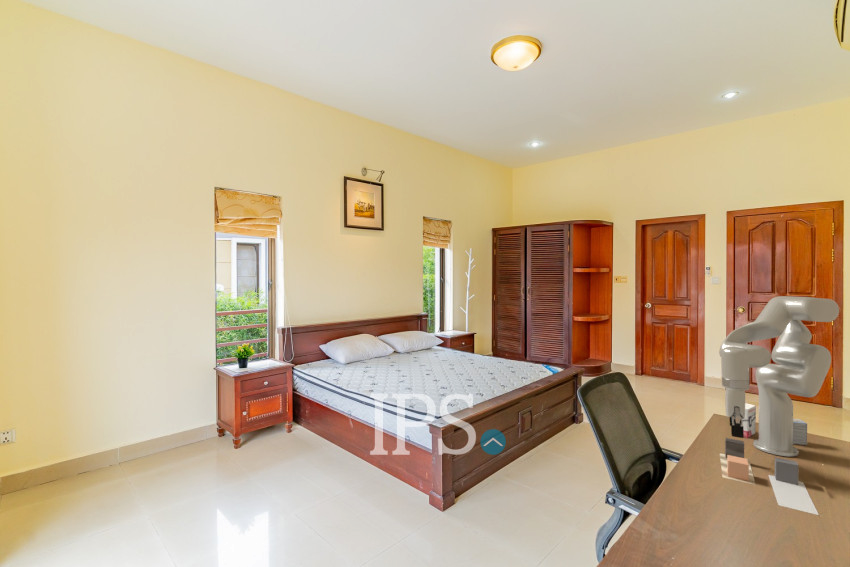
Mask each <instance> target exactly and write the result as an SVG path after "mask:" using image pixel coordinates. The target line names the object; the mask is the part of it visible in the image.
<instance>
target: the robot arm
mask: <svg viewBox="0 0 850 567" xmlns="http://www.w3.org/2000/svg"><path fill="white" fill-rule="evenodd" d="M839 314H840V307H839V305H838V303H837V302H836V301H835V300H833V299H831V298H820V297H811V296H810V297H809V296H793V295H792V296H791V295H784V296H783V295H778V296H774V297H773V298H771V299H769V301H768V302H767V304H765V306H764V308H763V309H762V311H761V312H760V313H759V315H758V316H757V317H756V319H755V320H754V321H751V322H749V323H747V324H744V325H742V326H740V327H738V328H736V329H734V330H732V331H731V332H730V333H729V334H728V335H727V336H726V337H725V338H724V340H723V341H722V343H721V345H720V347H719V351H718V352H719V353H718V354H719V357H720V358H721V359H720V360H721V362H720V363H721V386H722V387H723V388H724V389H725V392H724V394H725V395H724V398H725V400H724V401H725V415H726V417H727V418H729V426H730V428H731V434H730V435H731V436H732V437H734V438H739V439H744V438H745V437H744V430H743V423H742V419H744V418H745V403H746V391H749V390H750V389H751V388H750V368H756V370H755V380H756V384H757V390H758V439H754V440H753V441H752V442H753V443H752V444H753V446H754V448H756V449H758V450H759V451H762V452H765V453H769V454H771V455H775V456H781V457H792V458H793V457H797V456H799V453H800V451H799V449H798V448H796V447H795V446H794V444H793V419H794V403H793V401H792V399H791V398H790V396H789V395H788V394H790V395H794V396H798V397H804V398H813V397H815V396H817V394H818V393H819V391H820V390H821V388H822V386H823V383H824V381H825V379H826V377H827V374H828V373H829V370H830V368H831V365H832V354H831V352H830V350H828V348H827V347H825V346H822V345H820V344H815V343H814V344H812V343H811V340H812V339H813V338H812V336H813V335H812V332H811V331H810V330H809V328H808V327H807V326H806V325H805V324H804V323H803V322H802V321H807V322H816V323H817V322H818V323H821V322H822V323H831V322H833V321H834V320H836V319H837V318H838V317H839ZM775 338H777V340H776V342H775V345H774V346H773V348H772V350H771V352H770V351H769V349H767V348H765V347H763V346H760V345H755V344H748V343H751V342H756V341H766V340H769V339H775ZM771 360H772V362H774V363H770V362H771Z"/></svg>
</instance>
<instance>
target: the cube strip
mask: <svg viewBox="0 0 850 567" xmlns="http://www.w3.org/2000/svg"><path fill="white" fill-rule="evenodd" d="M724 440H725V441H724V442H725V445H724V447H725V449H724V453H719V460H720V467H721V476H722V478H724V479H728V480H733V481H737V482H741V483H744V484H745V483H746V484H749V485H753V486H756V481H755V476H754V474H753V470H752V466H751V462H750V459H749V458H746V459H747V460H748V464H749V481H746V480H741V479H737V478H733V477H728V472H727V455H731V456H735V457H740V458H745V442H744V440H740V439H735V438H728V437H725V439H724Z"/></svg>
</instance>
